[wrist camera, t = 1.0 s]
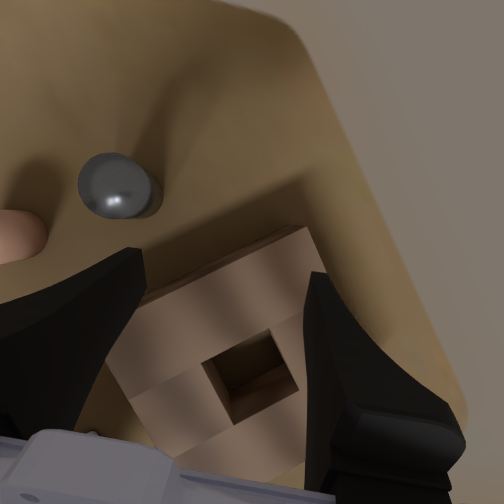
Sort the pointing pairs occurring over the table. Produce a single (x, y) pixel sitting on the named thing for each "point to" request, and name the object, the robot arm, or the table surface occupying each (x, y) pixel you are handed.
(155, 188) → the dark metallic cylinder
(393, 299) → the table surface
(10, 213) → the pinkish tan rounded piece
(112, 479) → the robot arm
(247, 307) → the hole block
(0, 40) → the table surface
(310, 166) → the table surface
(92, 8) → the table surface
